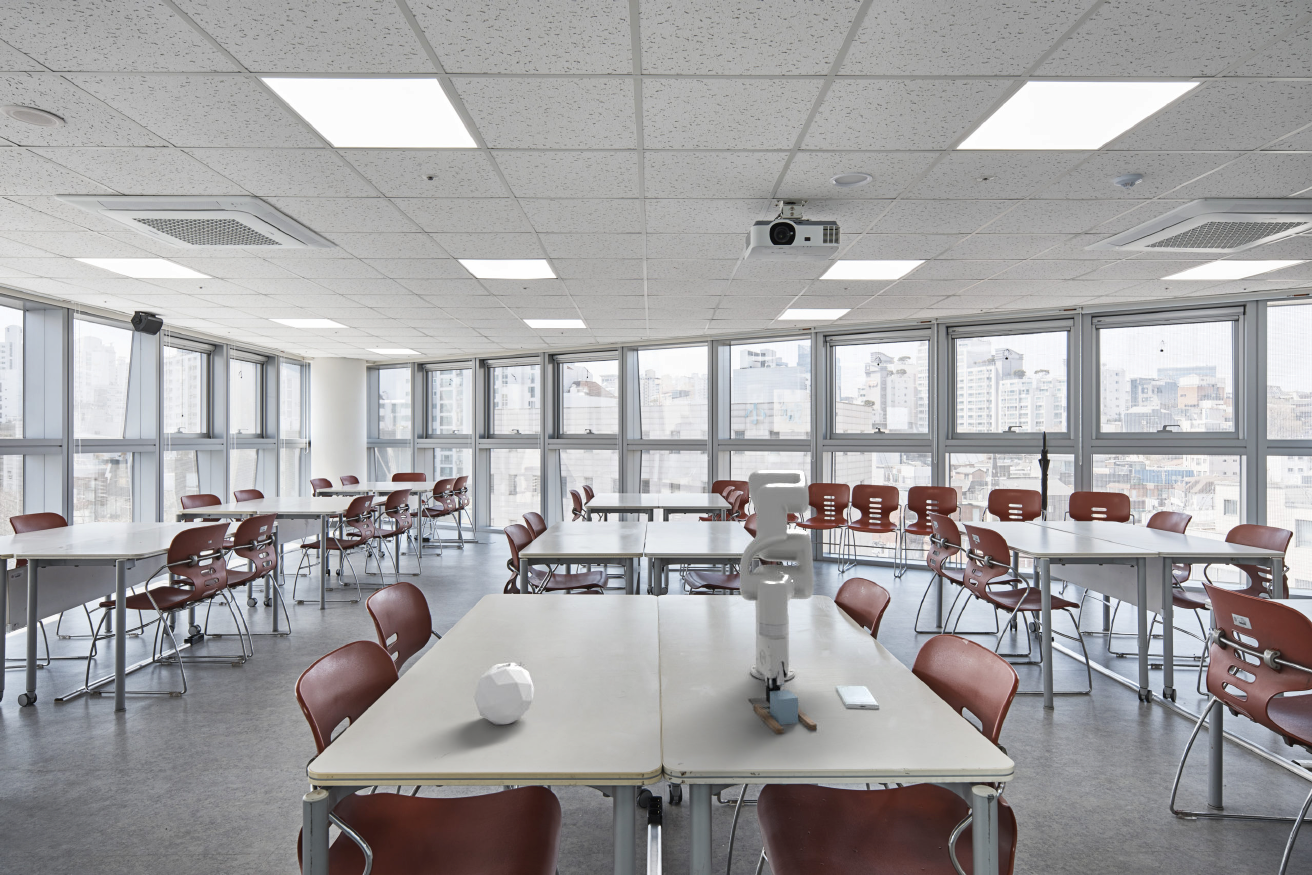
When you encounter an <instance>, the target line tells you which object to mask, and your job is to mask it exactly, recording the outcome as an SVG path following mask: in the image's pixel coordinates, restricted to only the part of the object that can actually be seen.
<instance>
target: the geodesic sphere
mask: <svg viewBox="0 0 1312 875" xmlns="http://www.w3.org/2000/svg"><path fill="white" fill-rule="evenodd" d="M522 664H523V661H520V662H519V663H518V664H517V663H515V662H507V663H504V662H503V663H498V664H494V665H493V666H492V667H490V668H488V670H487V671H486V672H485V673H483V674H482V675H481V676H480V677H479V679H478V683H477V685H476V689H475V693H474V696H473V698H474V701H475V705H476V707H477V711H478V713H479V716H481V717H482V718H484V719H485V720H487V721H489V722H491V723H492V724H495V725H508V724H512V723H515V722H516V721H518V720H519V719H520V718H521V717H523V716H524V715H525V714H526V713H527V711H528V710H529V709H530V707H531V705H532V702H533V699H534V694H535V693H534V692H535V687H534V684H533V681H532V678H531V675H530V672H529V670H526V669H525V668H523V667H524V665H525V664H523V665H522Z"/></svg>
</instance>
